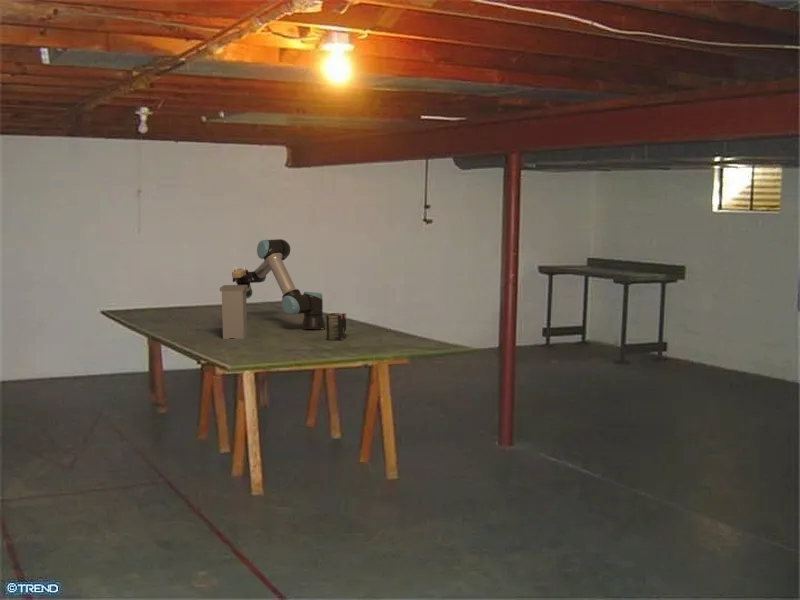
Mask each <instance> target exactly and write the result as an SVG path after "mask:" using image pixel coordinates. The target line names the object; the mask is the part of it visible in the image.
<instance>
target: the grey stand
mask: <svg viewBox="0 0 800 600" xmlns="http://www.w3.org/2000/svg"><path fill="white" fill-rule="evenodd" d="M247 288H248V285H237V284H227V285H226V284H225V285H222V286H221V287H219V292H221V315H222V316H221V317H222V340H230V339H229V338H235V339H234V340H245V339H246V337H247V336H248V316H247V315H248V314H247V312H248V310H247V309H248V307H247V298H246V289H247ZM246 335H247V336H246Z"/></svg>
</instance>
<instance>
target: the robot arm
mask: <svg viewBox="0 0 800 600" xmlns="http://www.w3.org/2000/svg"><path fill="white" fill-rule="evenodd" d="M290 253H291V246H290V244H289V243H288V241H286V240H285V239H281V238H279V239H277V238H276V239H262V240H260V241H259V243H258V244H257V247H256V255H257V257H258V258H260V259H261V260H264V261H263V262H262V263H261V264H259V266H258V267H257V268H256V269H255V270H253V271H249V270H248V269H246V266H243V268H238V266H235V267H234V268H235V269H234V270H233V271H232V272H231V273H232V274H231V276H232V282H233V283H236V285H248V288H247V289H246V299H250V298H251V297H252V296H253V289H252V285H251V284H253V283H264V282H265V281H266V278H267V275H268V274H269V273H270V272H271V271H272V274H273V276H274V279H275V280H276V283H277V284H278V286H279V289H280V291H281V293H282V296H281V300H280V301H281V308H282V310H283V311H284V313H286V314H288V315H294V316H295V315H299V314H303V320H302V323H301V330H303V329H321V328H326V329H327V327H326V322H325V319H324V315H323V313H324V312H323V311H324V310H323V300H324V299H323V294H322V293H321V292H311V291H303V294H302V293H301V291H300V289H297V288H296V286H295V284H294V282H293V281H292V278H291V276H290V274H289V272H288V270H287V268H286V266H285V263H284V261H285V260H286V259H288V257H289V256H290ZM243 269H244V273H245V275H244V276H242V277H241V278H233V272H235V271H237V270H243Z"/></svg>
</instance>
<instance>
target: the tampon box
mask: <svg viewBox="0 0 800 600" xmlns="http://www.w3.org/2000/svg"><path fill="white" fill-rule="evenodd" d="M325 318H326V319H325V321H326V322H325V325H326V340H327V339H329V340H328V341H343V340H345V339H347V313H344V312H343V313H341V312H337V313H335V312H331V313H328V314H326V315H325Z"/></svg>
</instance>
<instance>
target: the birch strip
mask: <svg viewBox="0 0 800 600" xmlns="http://www.w3.org/2000/svg"><path fill="white" fill-rule="evenodd" d="M242 269H243V270H237V271H235V272H234V271H232V272H233V277H232V279H233V278H241V277H242V276H244V275H245V273H244V268H242Z"/></svg>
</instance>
